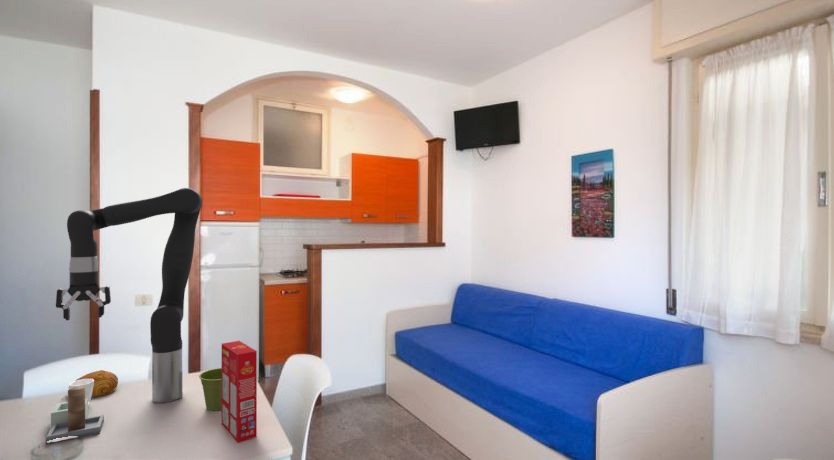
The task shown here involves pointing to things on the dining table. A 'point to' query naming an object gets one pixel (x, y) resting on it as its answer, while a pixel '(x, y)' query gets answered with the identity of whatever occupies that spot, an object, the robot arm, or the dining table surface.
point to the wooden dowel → (76, 408)
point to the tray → (61, 430)
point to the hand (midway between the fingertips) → (84, 318)
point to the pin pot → (63, 412)
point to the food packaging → (239, 390)
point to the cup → (86, 383)
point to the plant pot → (212, 388)
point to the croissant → (102, 382)
